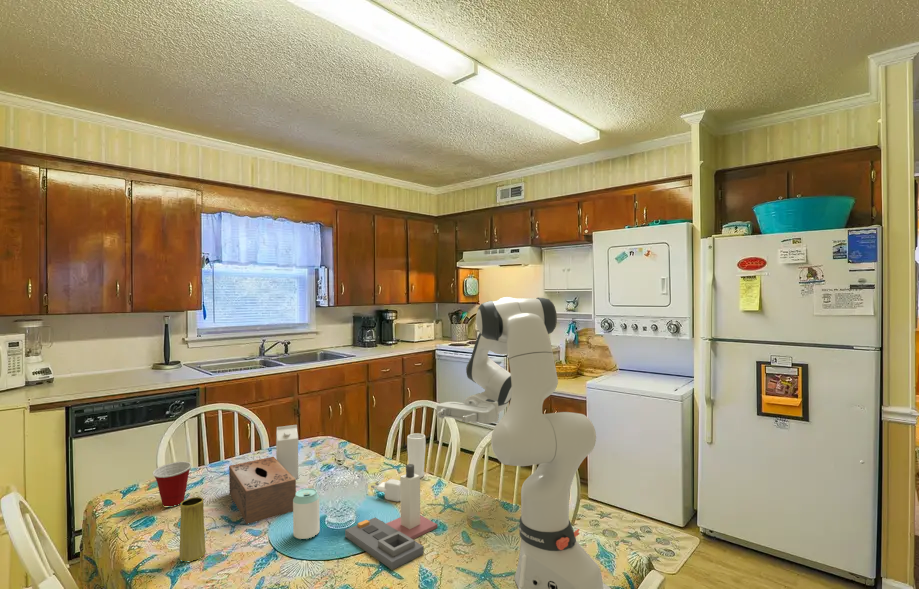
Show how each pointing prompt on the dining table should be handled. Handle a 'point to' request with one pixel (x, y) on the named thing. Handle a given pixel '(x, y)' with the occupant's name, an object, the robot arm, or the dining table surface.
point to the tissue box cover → (261, 489)
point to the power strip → (384, 542)
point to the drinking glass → (416, 452)
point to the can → (306, 514)
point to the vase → (192, 529)
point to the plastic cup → (172, 482)
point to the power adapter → (390, 489)
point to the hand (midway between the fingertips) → (451, 417)
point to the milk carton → (287, 448)
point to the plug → (410, 498)
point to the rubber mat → (416, 531)
